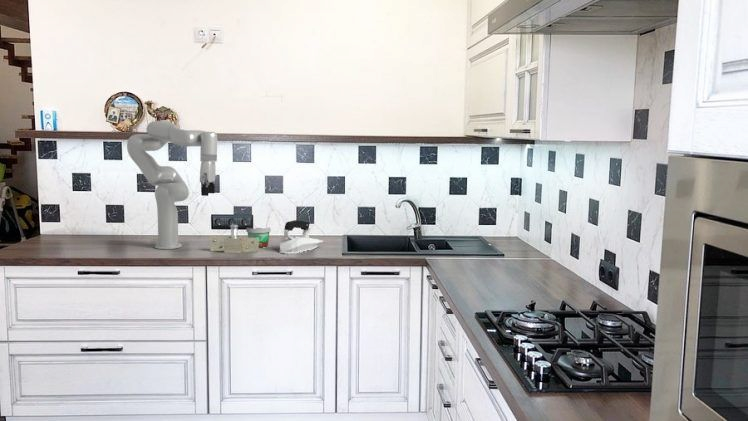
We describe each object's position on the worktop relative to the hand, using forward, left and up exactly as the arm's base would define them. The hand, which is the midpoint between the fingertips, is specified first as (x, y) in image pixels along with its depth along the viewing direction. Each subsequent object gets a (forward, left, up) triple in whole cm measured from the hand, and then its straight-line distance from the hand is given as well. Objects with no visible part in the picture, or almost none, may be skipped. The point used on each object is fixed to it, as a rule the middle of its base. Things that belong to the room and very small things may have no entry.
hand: (208, 194), depth 307 cm
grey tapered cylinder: (+11, +5, -28) cm, 30 cm away
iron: (+41, +14, -28) cm, 52 cm away
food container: (+20, +17, -28) cm, 38 cm away
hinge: (+11, +5, -28) cm, 30 cm away
